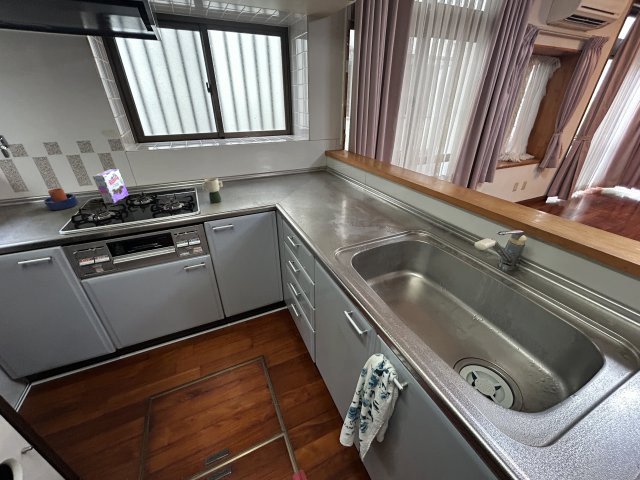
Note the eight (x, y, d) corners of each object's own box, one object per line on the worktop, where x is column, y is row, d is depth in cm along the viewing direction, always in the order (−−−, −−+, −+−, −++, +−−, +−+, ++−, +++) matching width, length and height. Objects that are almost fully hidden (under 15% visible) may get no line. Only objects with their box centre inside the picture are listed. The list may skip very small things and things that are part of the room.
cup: (53, 207, 147) (45, 192, 143) (59, 203, 153) (51, 188, 148) (67, 206, 149) (59, 191, 144) (72, 202, 154) (64, 187, 150)
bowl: (43, 212, 144) (38, 203, 141) (56, 203, 155) (51, 195, 152) (72, 209, 147) (67, 200, 145) (82, 200, 158) (78, 192, 156)
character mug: (224, 197, 159) (220, 176, 152) (226, 201, 153) (222, 179, 147) (205, 201, 155) (199, 179, 148) (206, 205, 149) (201, 182, 143)
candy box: (114, 203, 153) (102, 175, 145) (104, 203, 153) (91, 175, 145) (129, 195, 165) (119, 168, 157) (120, 195, 165) (109, 168, 157)
